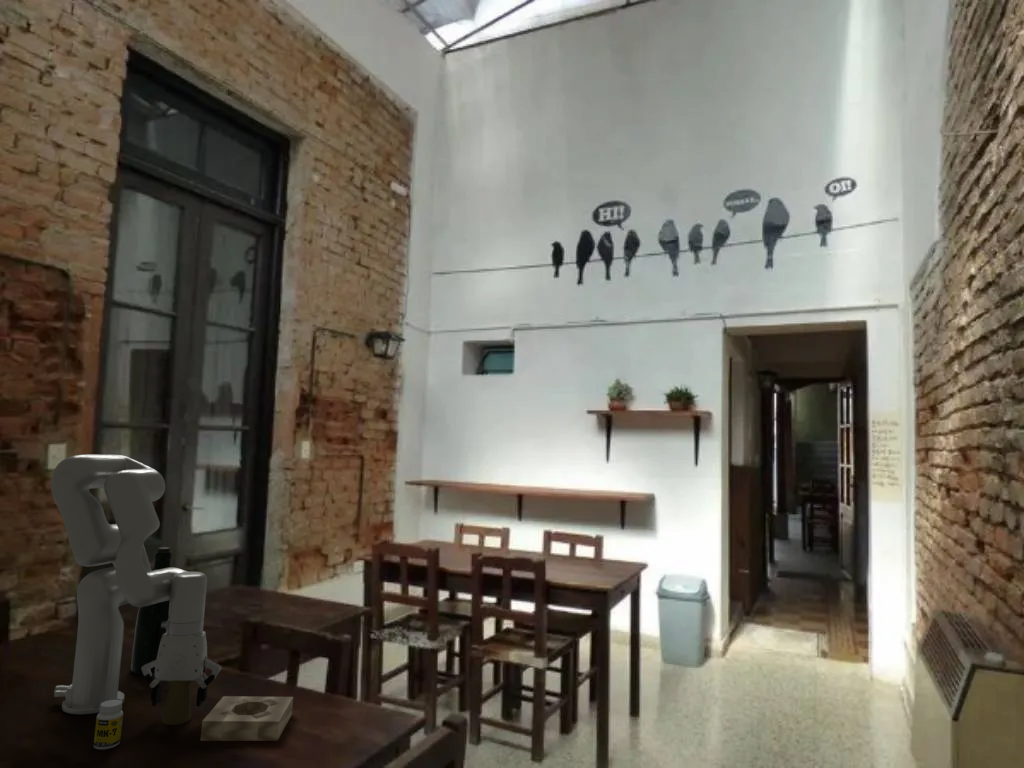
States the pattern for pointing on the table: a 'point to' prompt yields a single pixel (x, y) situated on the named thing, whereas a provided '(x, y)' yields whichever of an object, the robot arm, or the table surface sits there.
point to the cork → (178, 703)
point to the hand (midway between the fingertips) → (178, 704)
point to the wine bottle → (151, 622)
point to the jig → (247, 719)
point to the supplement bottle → (108, 725)
